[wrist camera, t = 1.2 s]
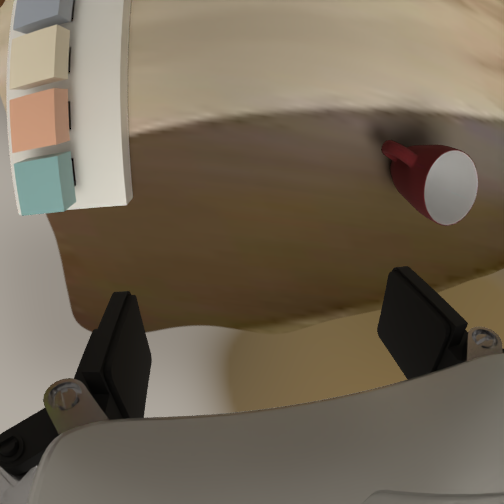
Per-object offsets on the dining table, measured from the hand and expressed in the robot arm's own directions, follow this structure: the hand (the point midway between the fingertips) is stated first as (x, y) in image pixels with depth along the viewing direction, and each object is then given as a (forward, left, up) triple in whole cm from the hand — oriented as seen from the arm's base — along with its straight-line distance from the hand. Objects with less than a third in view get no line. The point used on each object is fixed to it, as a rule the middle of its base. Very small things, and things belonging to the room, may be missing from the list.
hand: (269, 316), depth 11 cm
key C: (-8, -18, -23) cm, 30 cm away
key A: (-20, -18, -23) cm, 35 cm away
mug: (-2, +20, -26) cm, 33 cm away
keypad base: (-11, -18, -26) cm, 33 cm away
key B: (-14, -18, -23) cm, 32 cm away
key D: (-2, -18, -23) cm, 29 cm away
